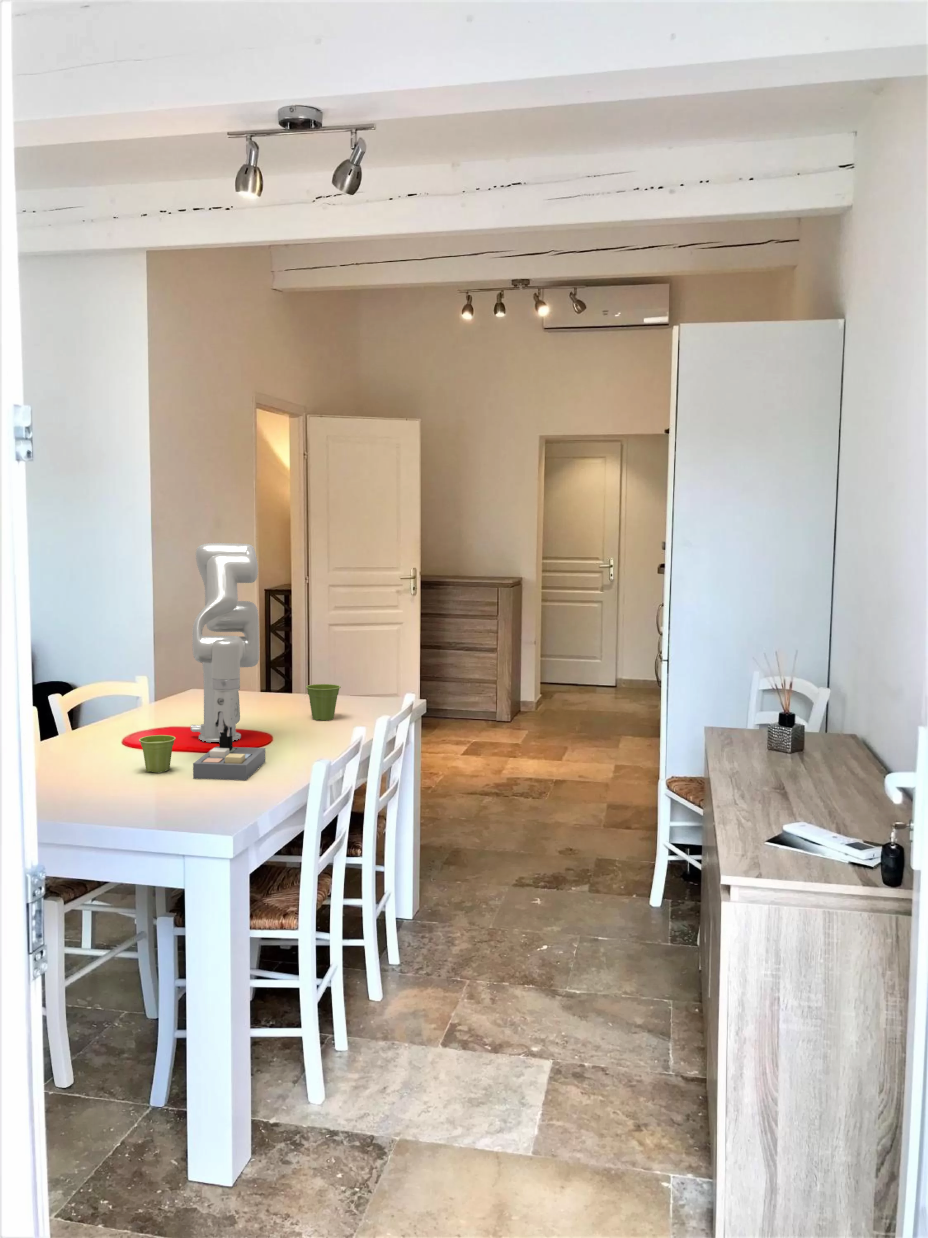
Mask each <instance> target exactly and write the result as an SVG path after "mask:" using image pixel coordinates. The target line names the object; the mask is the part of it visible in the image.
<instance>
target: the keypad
mask: <svg viewBox="0 0 928 1238" xmlns="http://www.w3.org/2000/svg"><path fill="white" fill-rule="evenodd" d="M214 748H219V745H217V746H215V747H214ZM232 748H235V749H236V750H235V751H234V752H229V754H230V753H231V754H251V756H250V757H249V758H245V761H244V762H243V763H242V764H236V763H225V758H224V757H210V750H209V751H208V752H207V753H205V754H204V755H203V756H201V757H200V758H198V759H197V760H195V761H194V762H193V763H192V768H193V769H192V772H193V773H192V778H193V779H196V778H198V779H199V780H225V781H226V780H227V781H229V780H230V781H247V780H248V779H249V778H251V776H252V775H254V773H256V772H257V771H258V768H259V769H260V768H261V767H262V766H263V765H264V764H265V763H266V747H248V746H247V747H245V746H244V747H243V746H242V747H239V746H232ZM207 758H222V759H223V760H222V761H221V762H220V763H208V762H203V761H204V760H205V759H207Z"/></svg>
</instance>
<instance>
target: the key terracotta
mask: <svg viewBox="0 0 928 1238" xmlns="http://www.w3.org/2000/svg"><path fill="white" fill-rule="evenodd" d="M222 760H223V759H222V758H207V759H205V760H204V761H203V762H208V763H220V762H221V761H222Z"/></svg>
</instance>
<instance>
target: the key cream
mask: <svg viewBox="0 0 928 1238" xmlns="http://www.w3.org/2000/svg"><path fill="white" fill-rule="evenodd" d="M209 751H210V757H224V758H225V757H226V756H227V755H228V754H229V748H215V747H213V748H211V749H210V750H209Z"/></svg>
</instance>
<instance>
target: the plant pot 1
mask: <svg viewBox="0 0 928 1238" xmlns="http://www.w3.org/2000/svg"><path fill="white" fill-rule="evenodd" d="M138 741H139V743H140V745H141V748H142V753H143V759H144V766H145V770H146V772H148V773H150V772H152V773H157V774H158V773H164V772H166V771H169V770H170V769H171V761H172V754H173V753H172V752H173V746H174V745H175V741H176V737H175V736H174V735H167V734H156V735H147V736H143V737H140V738H139V739H138Z"/></svg>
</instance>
